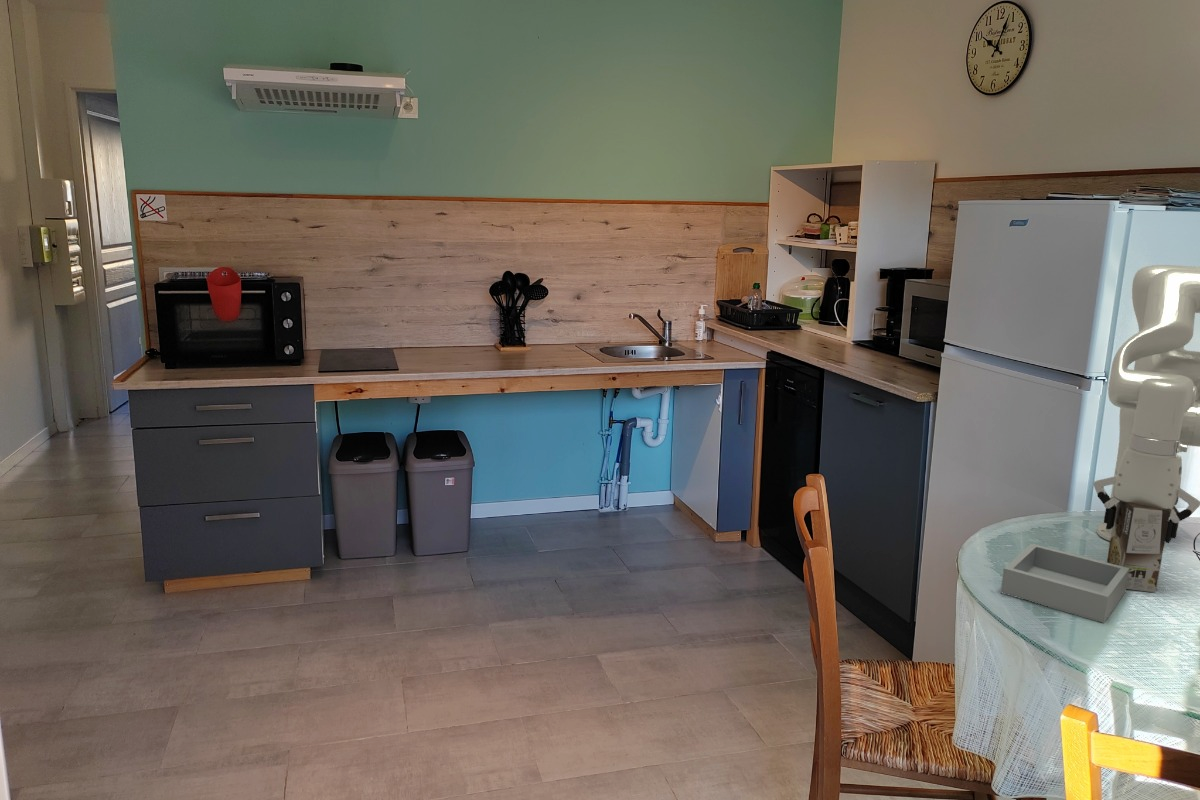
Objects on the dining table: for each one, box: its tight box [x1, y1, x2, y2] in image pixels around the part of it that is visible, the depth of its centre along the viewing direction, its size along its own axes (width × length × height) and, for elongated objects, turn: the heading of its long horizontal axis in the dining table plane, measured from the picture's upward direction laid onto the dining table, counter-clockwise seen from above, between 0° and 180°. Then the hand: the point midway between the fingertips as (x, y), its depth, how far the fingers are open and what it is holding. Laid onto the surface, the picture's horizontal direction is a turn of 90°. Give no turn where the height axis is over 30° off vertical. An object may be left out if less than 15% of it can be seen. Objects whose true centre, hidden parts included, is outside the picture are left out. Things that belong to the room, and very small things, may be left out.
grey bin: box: [1000, 543, 1130, 624], centre depth 166 cm, size 17×17×5 cm
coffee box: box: [1106, 501, 1171, 593], centre depth 171 cm, size 9×6×16 cm
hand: (1138, 534), depth 170 cm, fingers open, 9 cm apart
